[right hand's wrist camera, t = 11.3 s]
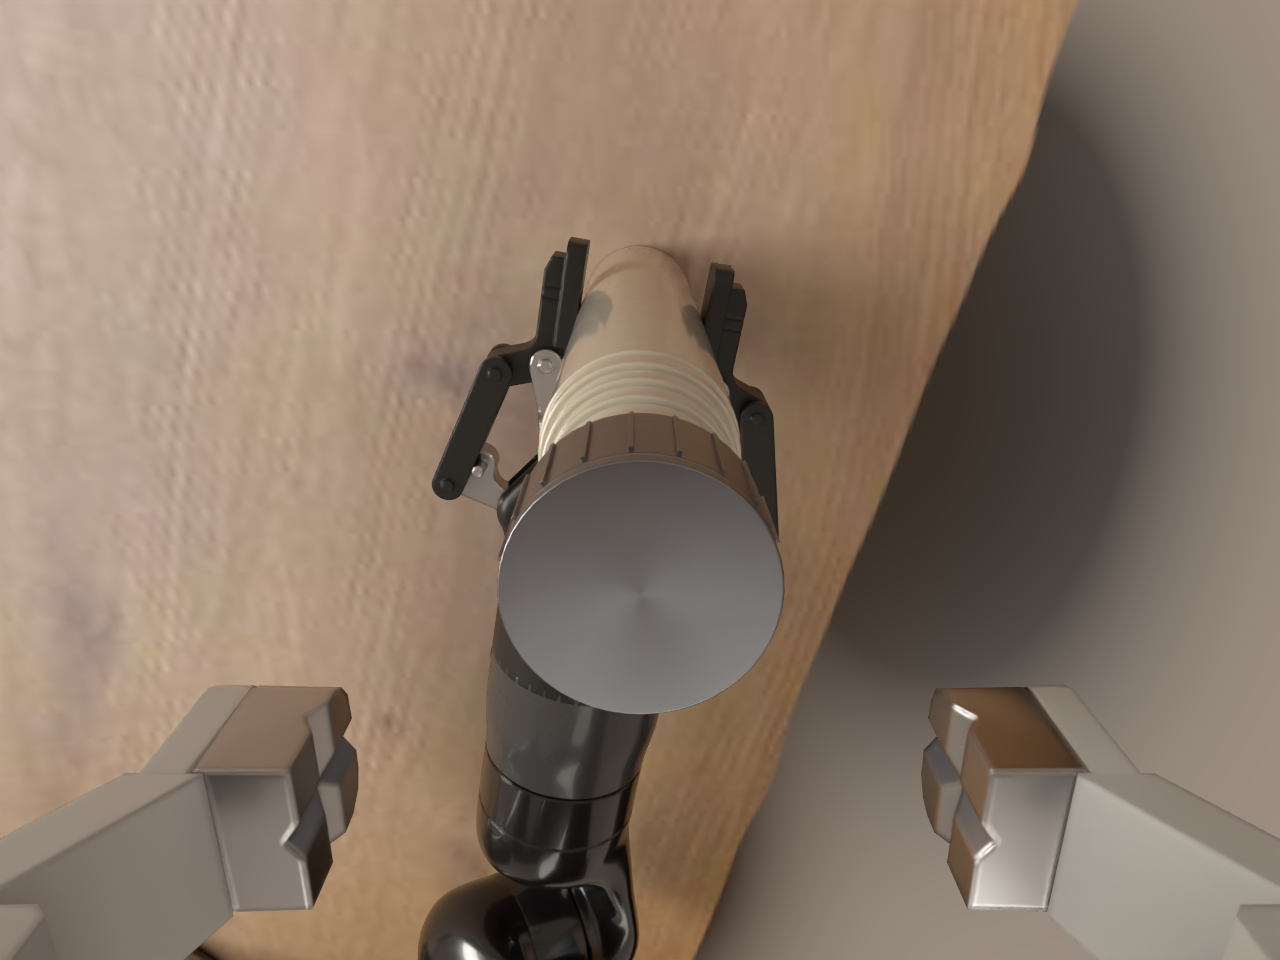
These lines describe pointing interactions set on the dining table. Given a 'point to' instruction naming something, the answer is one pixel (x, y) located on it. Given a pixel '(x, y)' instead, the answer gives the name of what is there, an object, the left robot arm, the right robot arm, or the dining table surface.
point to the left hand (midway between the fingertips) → (650, 255)
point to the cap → (640, 566)
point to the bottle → (638, 352)
